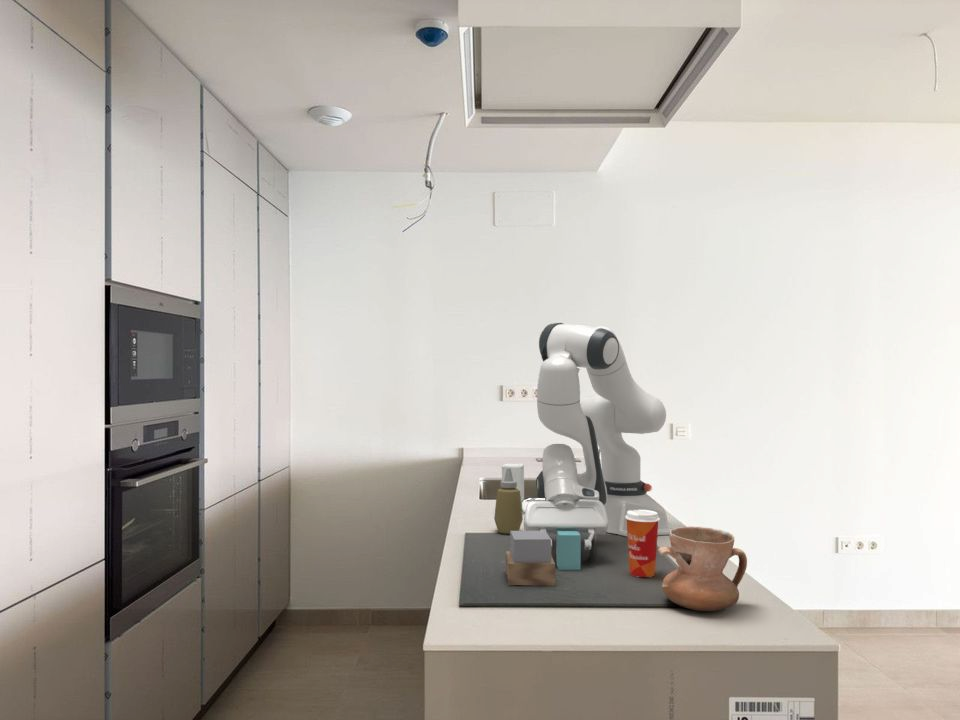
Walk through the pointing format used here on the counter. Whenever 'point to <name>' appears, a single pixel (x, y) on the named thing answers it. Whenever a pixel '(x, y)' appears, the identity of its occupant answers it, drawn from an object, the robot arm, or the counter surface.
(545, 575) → the walnut base block
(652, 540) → the paper cup
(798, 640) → the counter surface
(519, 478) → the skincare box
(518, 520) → the squeeze bottle
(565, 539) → the teal block
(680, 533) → the ceramic jug
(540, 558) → the grey top block
